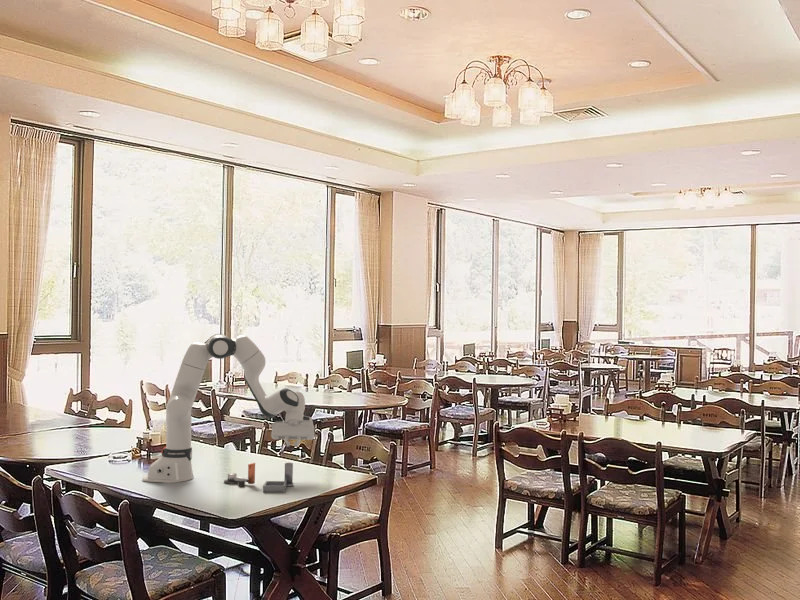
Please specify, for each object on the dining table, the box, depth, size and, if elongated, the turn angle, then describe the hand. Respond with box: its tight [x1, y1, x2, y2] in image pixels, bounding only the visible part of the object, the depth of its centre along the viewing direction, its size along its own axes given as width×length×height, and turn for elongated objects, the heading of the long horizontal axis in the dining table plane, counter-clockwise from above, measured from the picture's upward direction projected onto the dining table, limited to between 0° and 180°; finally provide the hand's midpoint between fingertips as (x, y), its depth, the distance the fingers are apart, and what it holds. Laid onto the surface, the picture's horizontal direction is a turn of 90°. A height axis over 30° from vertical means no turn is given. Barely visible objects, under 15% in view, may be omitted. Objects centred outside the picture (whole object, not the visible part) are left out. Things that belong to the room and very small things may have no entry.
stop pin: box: [283, 462, 294, 488], centre depth 341 cm, size 4×4×10 cm
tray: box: [262, 480, 288, 494], centre depth 332 cm, size 9×9×3 cm
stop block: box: [238, 480, 246, 488], centre depth 338 cm, size 2×2×2 cm
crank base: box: [223, 479, 239, 485], centre depth 345 cm, size 7×7×1 cm
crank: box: [226, 462, 256, 485], centre depth 342 cm, size 14×4×9 cm, turn 63°
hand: (291, 445), depth 354 cm, fingers open, 2 cm apart
